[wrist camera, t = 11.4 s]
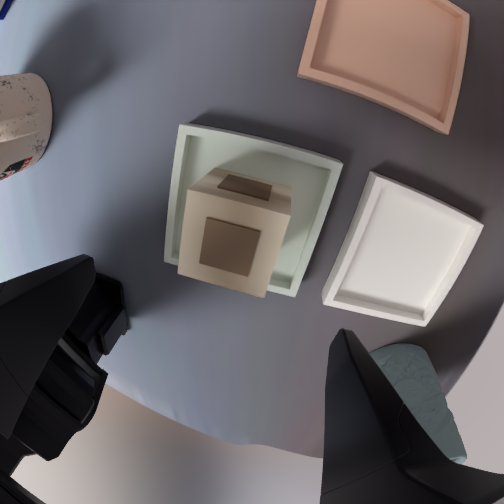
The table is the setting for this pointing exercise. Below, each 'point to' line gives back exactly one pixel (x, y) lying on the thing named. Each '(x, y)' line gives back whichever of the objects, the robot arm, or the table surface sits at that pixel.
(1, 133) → the teacup with lid
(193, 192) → the letter cube
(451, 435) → the teal patterned cup
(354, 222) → the dish
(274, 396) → the table surface
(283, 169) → the dish
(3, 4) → the milk carton
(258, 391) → the table surface
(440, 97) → the dish
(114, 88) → the table surface
